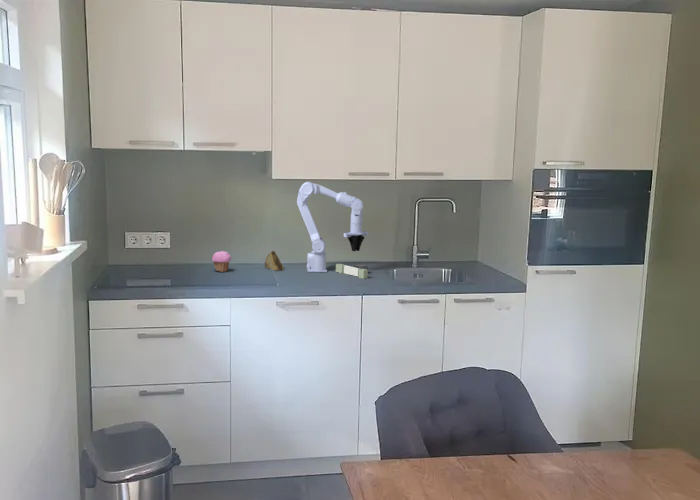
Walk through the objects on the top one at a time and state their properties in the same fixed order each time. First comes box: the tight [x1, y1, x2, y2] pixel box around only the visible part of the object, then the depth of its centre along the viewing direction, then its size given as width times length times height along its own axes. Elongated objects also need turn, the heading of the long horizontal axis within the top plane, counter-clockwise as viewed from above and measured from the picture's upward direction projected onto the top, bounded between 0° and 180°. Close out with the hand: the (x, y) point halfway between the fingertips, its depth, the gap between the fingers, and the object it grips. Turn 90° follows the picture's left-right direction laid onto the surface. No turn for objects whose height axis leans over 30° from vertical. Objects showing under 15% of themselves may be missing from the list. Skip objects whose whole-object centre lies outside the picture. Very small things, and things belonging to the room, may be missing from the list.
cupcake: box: [211, 250, 232, 273], centre depth 315 cm, size 9×9×10 cm
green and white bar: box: [335, 263, 369, 279], centre depth 315 cm, size 2×20×4 cm, turn 42°
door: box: [343, 264, 361, 277], centre depth 315 cm, size 1×11×4 cm, turn 42°
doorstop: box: [353, 263, 369, 271], centre depth 320 cm, size 5×5×4 cm
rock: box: [264, 250, 285, 271], centre depth 326 cm, size 11×9×10 cm
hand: (355, 250), depth 323 cm, fingers closed
